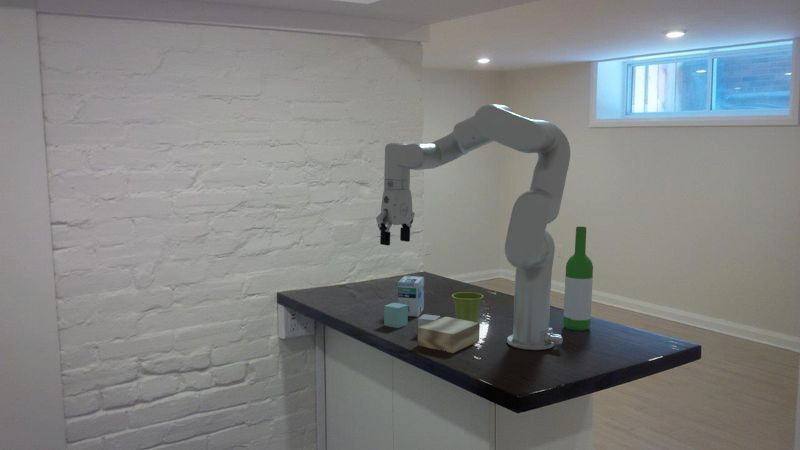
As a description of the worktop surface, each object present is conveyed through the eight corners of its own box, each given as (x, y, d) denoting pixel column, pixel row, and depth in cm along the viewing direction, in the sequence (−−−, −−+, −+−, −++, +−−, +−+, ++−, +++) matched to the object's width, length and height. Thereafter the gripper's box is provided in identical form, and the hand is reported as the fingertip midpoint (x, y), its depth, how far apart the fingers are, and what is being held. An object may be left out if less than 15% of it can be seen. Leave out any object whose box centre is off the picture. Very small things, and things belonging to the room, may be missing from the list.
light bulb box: (418, 317, 218) (418, 283, 217) (397, 315, 220) (397, 281, 218) (424, 309, 229) (424, 276, 227) (403, 307, 230) (404, 275, 229)
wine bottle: (575, 323, 213) (580, 224, 210) (595, 329, 207) (600, 227, 203) (557, 326, 209) (561, 226, 205) (577, 333, 203) (582, 229, 199)
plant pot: (447, 326, 208) (447, 297, 207) (455, 318, 217) (456, 290, 216) (478, 329, 205) (479, 300, 204) (485, 321, 214) (486, 293, 213)
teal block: (407, 324, 210) (407, 305, 209) (397, 328, 206) (398, 308, 205) (394, 322, 213) (394, 302, 212) (384, 325, 208) (384, 305, 208)
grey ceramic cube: (440, 333, 201) (440, 315, 201) (434, 337, 197) (435, 320, 196) (423, 331, 203) (423, 314, 203) (417, 335, 199) (418, 318, 198)
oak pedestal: (479, 340, 194) (479, 322, 193) (452, 353, 183) (453, 334, 182) (445, 333, 200) (445, 316, 200) (417, 345, 189) (417, 327, 188)
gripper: (389, 187, 198) (387, 248, 200) (424, 184, 212) (422, 241, 214) (368, 185, 202) (366, 244, 205) (404, 183, 216) (402, 238, 218)
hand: (395, 242), depth 209 cm, fingers open, 9 cm apart
